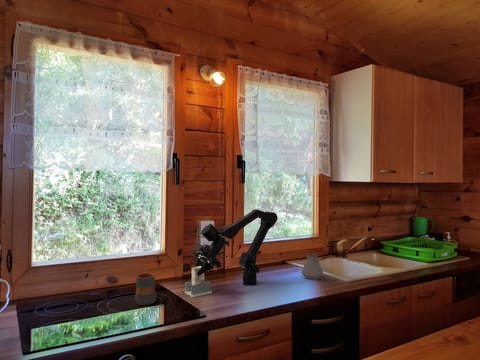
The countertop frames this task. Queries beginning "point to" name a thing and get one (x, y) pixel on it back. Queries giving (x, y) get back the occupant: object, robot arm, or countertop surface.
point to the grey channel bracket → (198, 288)
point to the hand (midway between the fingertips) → (195, 274)
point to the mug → (145, 289)
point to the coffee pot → (313, 266)
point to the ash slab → (195, 277)
